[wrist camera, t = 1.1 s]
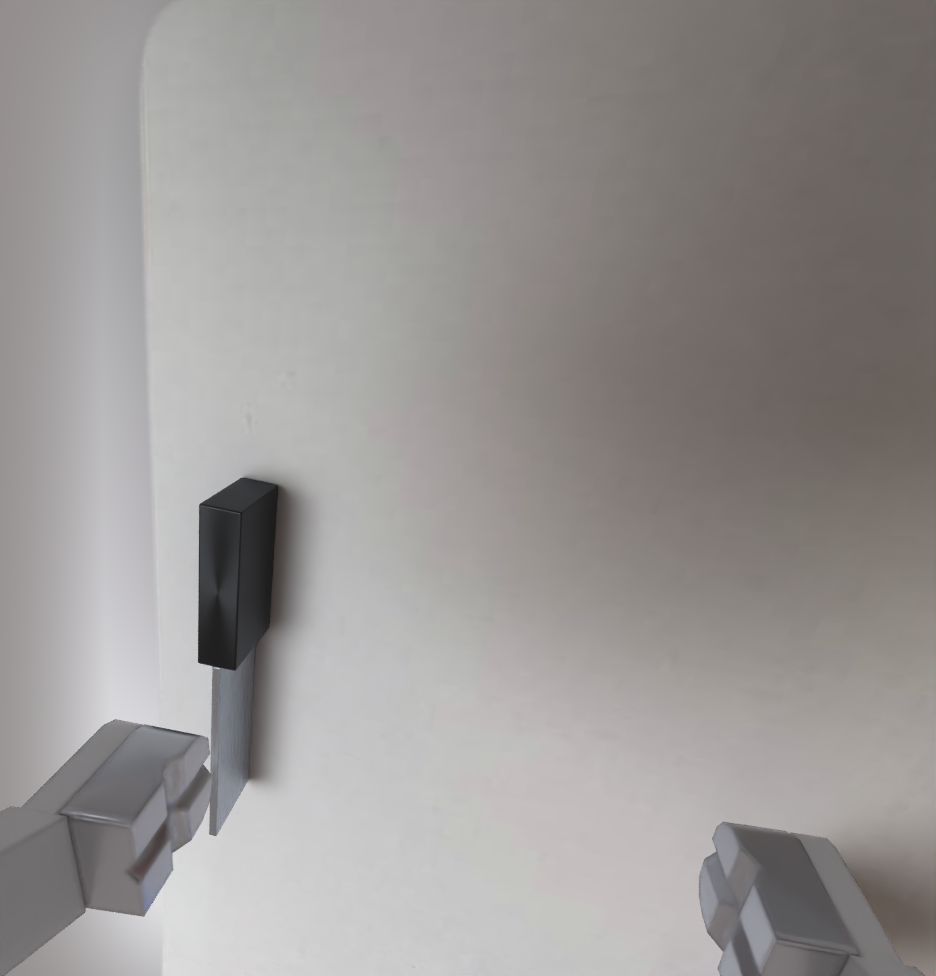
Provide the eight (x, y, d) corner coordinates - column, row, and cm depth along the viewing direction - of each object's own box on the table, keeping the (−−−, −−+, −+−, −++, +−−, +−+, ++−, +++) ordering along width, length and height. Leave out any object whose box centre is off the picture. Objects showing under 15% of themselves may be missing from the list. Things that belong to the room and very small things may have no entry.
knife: (241, 476, 25) (198, 503, 22) (278, 484, 25) (241, 512, 22) (230, 776, 31) (196, 831, 28) (259, 782, 31) (229, 839, 28)
